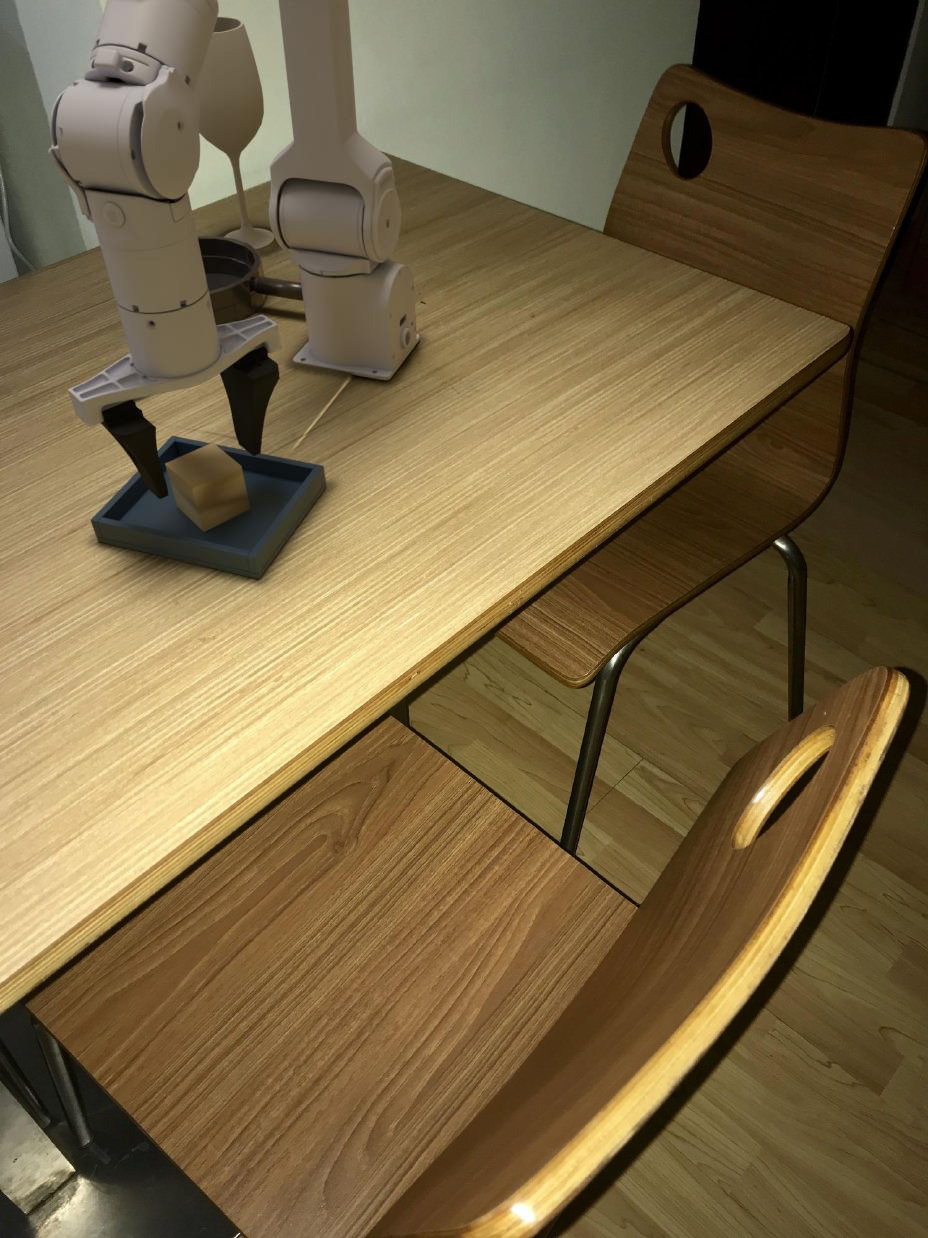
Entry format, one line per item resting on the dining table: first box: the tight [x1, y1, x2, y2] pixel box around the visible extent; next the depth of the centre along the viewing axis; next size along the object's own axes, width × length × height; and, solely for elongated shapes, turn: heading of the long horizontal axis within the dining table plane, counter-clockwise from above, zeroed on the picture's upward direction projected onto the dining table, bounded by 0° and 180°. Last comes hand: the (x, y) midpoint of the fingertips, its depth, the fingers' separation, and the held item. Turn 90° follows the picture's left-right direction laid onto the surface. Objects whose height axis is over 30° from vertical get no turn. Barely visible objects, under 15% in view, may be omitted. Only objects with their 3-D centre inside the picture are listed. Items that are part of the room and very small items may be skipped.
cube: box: [165, 442, 250, 532], centre depth 73 cm, size 4×4×4 cm
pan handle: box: [252, 276, 304, 302], centre depth 94 cm, size 8×2×2 cm, turn 71°
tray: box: [90, 435, 327, 580], centre depth 74 cm, size 13×11×2 cm
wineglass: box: [195, 16, 275, 250], centre depth 101 cm, size 8×8×21 cm
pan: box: [197, 235, 267, 325], centre depth 97 cm, size 13×13×4 cm
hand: (204, 469), depth 72 cm, fingers open, 7 cm apart
